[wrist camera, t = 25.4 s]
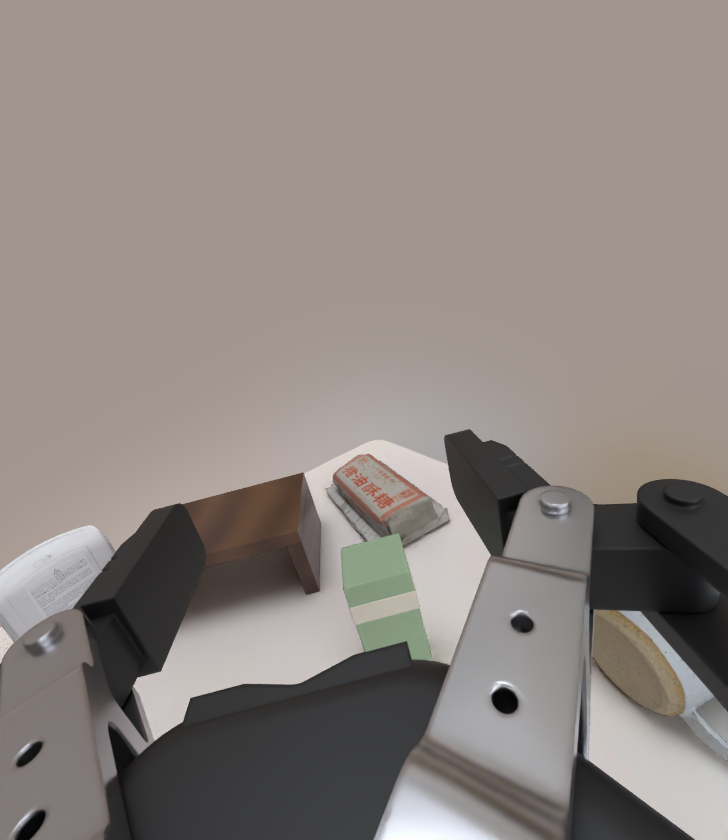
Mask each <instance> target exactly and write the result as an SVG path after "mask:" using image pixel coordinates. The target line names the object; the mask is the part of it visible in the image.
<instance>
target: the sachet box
mask: <svg viewBox="0 0 728 840" xmlns="http://www.w3.org/2000/svg"><path fill="white" fill-rule="evenodd" d="M341 558H342V576H343V590H344V593H345V595H346V598H347V601H348V604H349V610H350V613H351V616H352V619H353V622H354V624H355V625H356V628H357V630H358V633H359V636H360V639H361V642H362V645H363V648H364V651H365V652H367V651H371V650H375V649H378V648H382V647H386V646H390V645H393V644H397V643H401V642H405V641H407V643H408V646H409V650H410V654H411V658H412V659H416V660H429V661H433V660H432V656H431V652H430V648H429V644H428V640H427V636H426V632H425V628H424V624H423V620H422V616H421V612H420V605H419V601H418V597H417V593H416V589H415V586H414V583H413V579H412V576H411V572H410V569H409V565H408V562H407V559H406V555H405V552H404V548H403V545H402V542H401V538H400V535H399V533H397V534H393V535H390V536H386V537H382V538H378V539H374V540H371V541H367V542H363V543H359V544H355V545H352V546H348V547H344V548H341Z"/></svg>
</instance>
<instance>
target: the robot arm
mask: <svg viewBox="0 0 728 840" xmlns="http://www.w3.org/2000/svg"><path fill="white" fill-rule="evenodd" d="M444 442H445V448H446V454H447V460H448V466H449V472H450V478H451V483H452V487H453V490H454V493H455V496H456V498H457V500H458V502H459V503H460V505H461V507H462V508H463V510H464V512H465V513H466V515H467V517H468V518H469V520H470V521H471V523H472V525H473V526H474V528H475V530H476V531H477V533H478V534H479V536H480V538H481V539H482V541H483V543H484V544H485V546H486V548H487V549H488V551H489V552H490V554H491V557H490V558H489V560H488V562H487V565H486V567H485V570H484V573H483V576H482V578H481V581H480V584H479V587H478V589H477V592H476V595H475V598H474V600H473V603H472V606H471V609H470V611H469V614H468V617H467V620H466V622H465V625H464V628H463V631H462V634H461V636H460V639H459V642H458V645H457V647H456V650H455V653H454V656H453V658H452V661H451V664H450V665H447V664H443V663H440V662H436V661H429V660H416V659H412V658H411V654H410V650H409V646H408V643H407V641H405V642H401V643H397V644H393V645H390V646H386V647H382V648H378V649H375V650H371V651H367V652H363V653H359V654H356V655H353V656H351V657H349V658H347V659H346V660H344V661H342V662H340V663H338V664H336V665H334V666H332V667H331V668H329V669H327V670H325V671H323V672H321V673H319V674H317V675H316V676H314V677H312V678H310V679H308V680H306V681H304V682H302V683H299V684H294V685H281V684H242V685H238V686H235V687H231V688H227V689H223V690H220V691H216V692H212V693H208V694H204V695H201V696H197V697H193V698H191V699H190V702H189V705H188V708H187V711H186V714H185V717H184V721H183V722H182V723H181V724H179V725H177V726H176V727H174V728H172V729H171V730H169V731H168V732H166V733H165V734H163V735H162V736H161V737H159V738H158V739H157V740H156V741H154V738H153V735H152V732H151V729H150V726H149V723H148V720H147V717H146V714H145V711H144V708H143V705H142V702H141V699H140V696H139V694H138V693H137V691H136V690H135V688H134V687H133V685H134V683H135V681H136V679H137V677H141V676H145V675H149V674H153V673H156V672H160V671H161V670H162V667H163V665H164V663H165V660H166V658H167V655H168V653H169V651H170V648H171V646H172V643H173V641H174V639H175V636H176V634H177V632H178V629H179V627H180V624H181V622H182V620H183V617H184V615H185V612H186V610H187V608H188V605H189V603H190V600H191V598H192V596H193V593H194V591H195V589H196V586H197V584H198V581H199V579H200V577H201V574H202V572H203V569H204V567H205V564H206V550H205V546H204V544H203V541H202V539H201V537H200V535H199V533H198V531H197V529H196V527H195V525H194V523H193V521H192V519H191V517H190V515H189V513H188V511H187V509H186V507H185V506H184V505H182V504H175V505H171V506H167V507H164V508H159V509H155V510H153V511H152V512H151V513H150V514H149V515H148V517H147V518H146V519H145V521H144V522H143V523H142V525H141V526H140V527H139V529H138V530H137V531H136V533H135V534H133V535H132V536H131V537H130V538H129V539H128V540H126V541H125V542H124V543H123V544H122V545H121V546H120V547H119V548H118V550H117V551H116V552H115V554H114V555H113V556H112V558H111V561H108V563H107V564H106V565H105V567H104V568H103V569H102V573H99V574H98V576H97V577H96V578H95V580H94V581H93V582H92V584H91V585H90V586H89V587H88V589H87V590H86V591H85V593H84V594H83V595H82V596H81V598H80V599H79V600H78V602H77V603H76V604H75V606H74V607H73V608H72V609H70V610H65V611H62V612H59V613H56V614H54V615H52V616H50V617H48V618H46V619H44V620H43V621H41V622H39V623H38V624H36V625H35V626H33V627H32V628H31V629H29V630H28V631H27V632H26V633H24V634H23V635H22V636H21V637H20V638H19V639H18V640H17V641H16V642H15V643H14V644H13V645H12V646H11V647H10V648H9V649H8V651H7V652H6V654H5V655H4V657H3V659H2V663H1V664H0V840H695V839H693V838H692V837H691V836H689V835H688V834H687V833H685V832H684V831H683V830H681V829H680V828H679V827H677V826H676V825H675V824H673V823H672V822H670V821H669V820H668V819H666V818H665V817H664V816H662V815H661V814H660V813H658V812H657V811H656V810H654V809H653V808H652V807H650V806H649V805H648V804H646V803H645V802H644V801H642V800H641V799H640V798H638V797H637V796H636V795H634V794H633V793H632V792H630V791H629V790H627V789H626V788H625V787H623V786H622V785H621V784H619V783H618V782H617V781H615V780H614V779H613V778H611V777H610V776H609V775H607V774H606V773H605V772H603V771H602V770H601V769H599V768H598V767H597V766H595V765H594V764H593V763H591V762H590V761H589V738H590V698H591V674H592V655H593V636H594V616H595V610H618V611H640V612H641V613H642V614H643V615H644V616H645V617H646V618H647V620H648V621H649V622H650V623H651V624H652V625H653V627H654V628H655V629H656V630H657V631H658V632H659V633H660V635H661V636H662V637H663V638H664V639H665V640H666V641H667V643H668V644H669V645H670V646H671V647H672V648H673V649H674V651H675V652H676V653H677V654H678V655H679V656H680V657H681V659H682V660H683V661H684V662H685V663H686V664H687V665H688V667H689V668H690V669H691V670H692V671H693V672H694V673H695V675H696V676H697V677H698V678H699V679H700V680H701V681H702V683H703V684H704V685H705V686H706V687H707V688H708V690H709V691H710V692H711V693H712V694H713V695H714V696H715V698H716V699H717V700H718V701H719V702H720V703H721V704H722V706H723V707H724V708H725V709H726V710H727V711H728V496H726V495H725V494H723V493H721V492H719V491H718V490H716V489H714V488H711V487H709V486H706V485H703V484H700V483H696V482H692V481H686V480H678V479H662V480H655V481H651V482H648V483H646V484H644V485H643V486H641V487H640V488H639V490H638V492H637V503H633V504H609V505H608V504H606V505H598V504H593V502H592V501H591V500H590V499H589V497H587V496H586V495H584V494H583V493H582V492H579V491H577V490H575V489H572V488H568V487H562V486H551V485H550V484H548V483H547V482H546V481H545V480H544V479H543V478H542V477H541V476H540V475H538V474H537V473H536V472H535V471H534V470H533V469H532V468H531V467H530V466H528V465H527V464H526V463H524V461H523V460H522V459H521V458H519V457H518V456H516V454H515V453H514V452H513V451H511V450H510V449H509V448H508V447H507V446H505V445H503V444H500V443H497V442H495V441H492V440H490V441H487V442H482V441H481V440H480V439H479V438H478V437H477V436H476V435H475V434H474V433H473V432H472V431H471V430H469V429H468V430H464V431H461V432H457V433H453V434H449V435H445V437H444Z"/></svg>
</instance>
